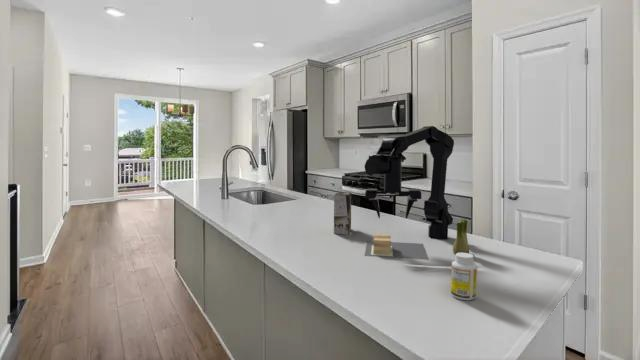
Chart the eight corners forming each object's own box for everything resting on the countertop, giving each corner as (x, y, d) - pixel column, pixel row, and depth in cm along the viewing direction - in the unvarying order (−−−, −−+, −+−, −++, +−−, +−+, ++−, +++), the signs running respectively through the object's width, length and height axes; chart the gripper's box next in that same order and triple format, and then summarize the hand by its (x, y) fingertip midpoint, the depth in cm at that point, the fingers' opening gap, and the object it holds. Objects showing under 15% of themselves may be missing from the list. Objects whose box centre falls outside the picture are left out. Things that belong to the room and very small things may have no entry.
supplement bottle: (466, 290, 88) (468, 250, 87) (480, 300, 82) (482, 257, 81) (446, 292, 87) (447, 252, 86) (458, 302, 81) (460, 259, 80)
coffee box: (349, 234, 143) (349, 195, 141) (333, 233, 144) (333, 194, 142) (351, 229, 152) (351, 192, 150) (336, 228, 153) (336, 191, 151)
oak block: (390, 254, 114) (390, 241, 114) (373, 253, 115) (373, 240, 115) (390, 246, 123) (390, 234, 122) (374, 245, 124) (374, 233, 123)
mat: (422, 245, 128) (422, 243, 127) (428, 261, 110) (428, 258, 110) (367, 242, 131) (367, 240, 131) (364, 257, 114) (364, 255, 113)
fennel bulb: (457, 258, 113) (459, 221, 111) (448, 254, 117) (449, 218, 116) (473, 257, 114) (474, 220, 113) (463, 252, 119) (464, 217, 118)
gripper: (418, 171, 127) (418, 213, 129) (366, 171, 131) (366, 212, 132) (421, 174, 116) (421, 220, 118) (365, 174, 120) (365, 219, 121)
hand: (392, 218), depth 123 cm, fingers open, 9 cm apart
